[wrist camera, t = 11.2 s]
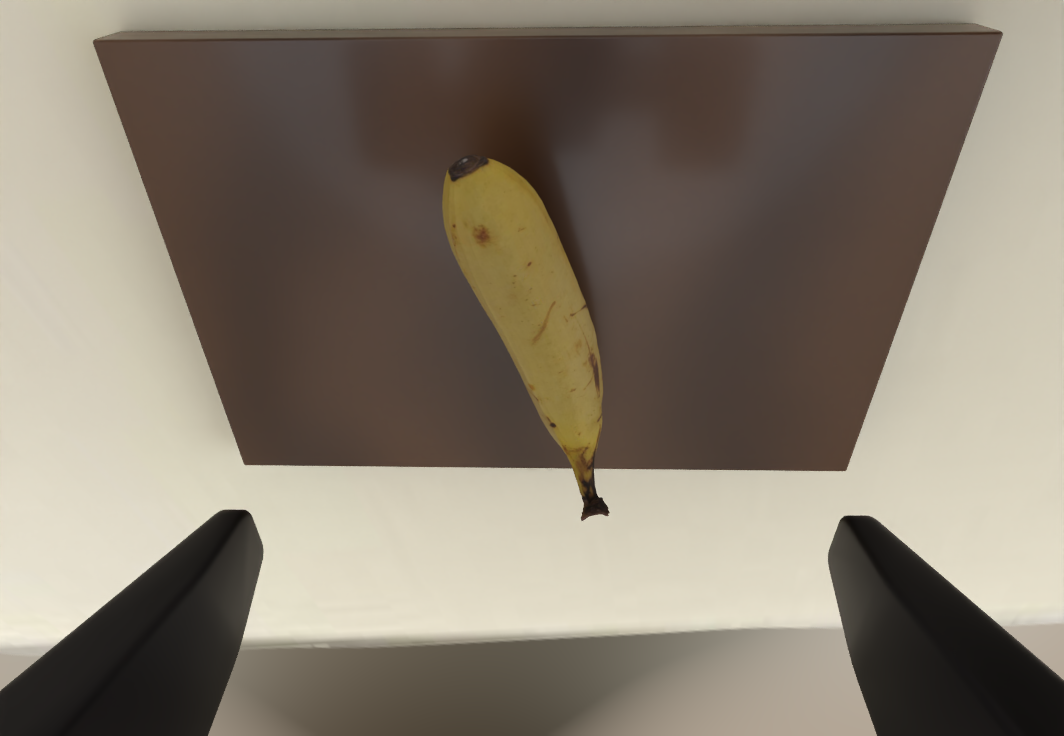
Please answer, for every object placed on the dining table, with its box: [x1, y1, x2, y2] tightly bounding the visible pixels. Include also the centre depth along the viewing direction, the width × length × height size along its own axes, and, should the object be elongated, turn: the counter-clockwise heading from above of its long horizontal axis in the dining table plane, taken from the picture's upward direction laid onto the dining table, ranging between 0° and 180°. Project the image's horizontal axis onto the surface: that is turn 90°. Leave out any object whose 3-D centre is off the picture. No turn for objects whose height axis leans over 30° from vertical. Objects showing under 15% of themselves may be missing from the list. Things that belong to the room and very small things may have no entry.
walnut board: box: [93, 24, 1003, 471], centre depth 19 cm, size 20×13×1 cm, turn 91°
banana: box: [442, 154, 609, 521], centre depth 17 cm, size 10×2×4 cm, turn 17°
